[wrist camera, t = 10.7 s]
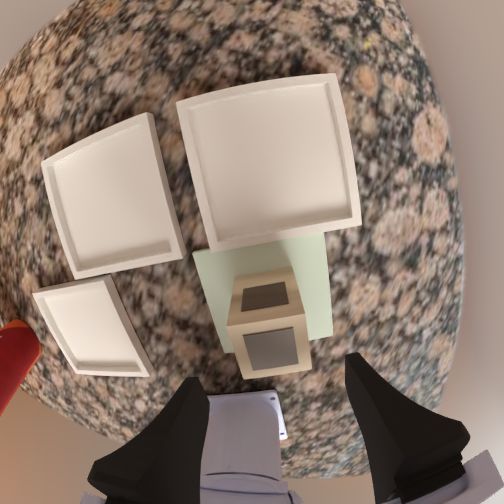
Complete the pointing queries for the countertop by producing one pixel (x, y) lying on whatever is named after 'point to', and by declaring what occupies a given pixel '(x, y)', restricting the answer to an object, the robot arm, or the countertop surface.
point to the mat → (265, 259)
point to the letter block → (268, 324)
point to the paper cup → (16, 357)
